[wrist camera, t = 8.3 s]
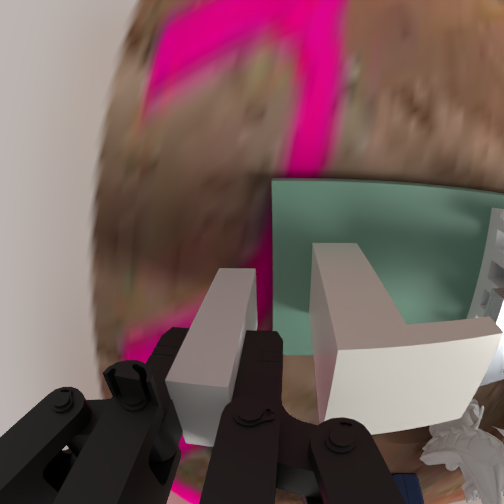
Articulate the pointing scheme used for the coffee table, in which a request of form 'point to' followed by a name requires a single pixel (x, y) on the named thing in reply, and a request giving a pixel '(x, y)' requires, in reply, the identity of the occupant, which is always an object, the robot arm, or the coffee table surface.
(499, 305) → the strap
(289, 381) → the coffee table surface
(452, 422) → the figurine
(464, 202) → the board
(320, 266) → the bracket
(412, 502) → the electronic device
